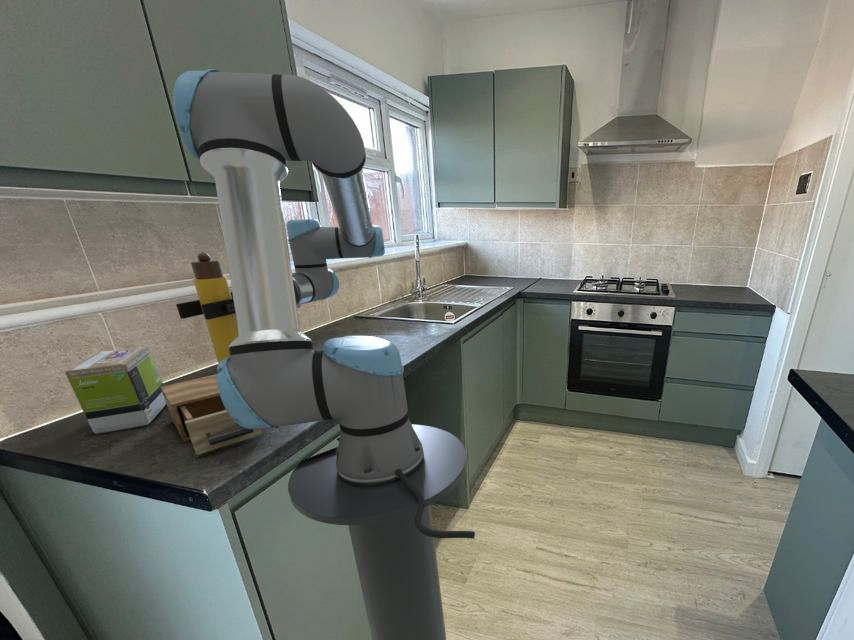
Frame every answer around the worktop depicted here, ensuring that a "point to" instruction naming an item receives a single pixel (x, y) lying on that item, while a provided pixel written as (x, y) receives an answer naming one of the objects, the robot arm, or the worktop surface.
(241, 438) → the drawer
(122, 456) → the worktop surface
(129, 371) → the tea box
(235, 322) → the pepper mill
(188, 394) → the cabinet
